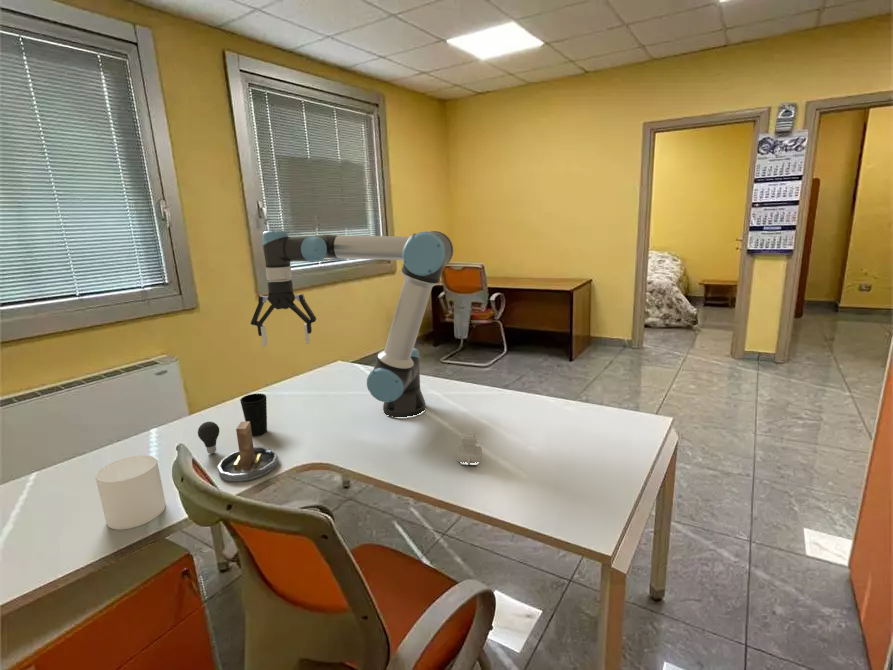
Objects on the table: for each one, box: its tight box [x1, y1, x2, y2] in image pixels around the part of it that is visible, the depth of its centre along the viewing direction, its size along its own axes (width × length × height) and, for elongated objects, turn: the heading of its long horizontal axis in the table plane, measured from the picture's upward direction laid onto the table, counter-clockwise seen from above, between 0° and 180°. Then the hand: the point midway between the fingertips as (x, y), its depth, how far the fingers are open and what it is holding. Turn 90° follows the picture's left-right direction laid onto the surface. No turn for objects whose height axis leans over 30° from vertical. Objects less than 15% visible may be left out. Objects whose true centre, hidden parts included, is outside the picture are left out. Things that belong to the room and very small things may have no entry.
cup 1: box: [95, 455, 166, 531], centre depth 106 cm, size 12×12×12 cm
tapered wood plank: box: [235, 421, 255, 469], centre depth 125 cm, size 2×4×12 cm, turn 8°
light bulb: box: [197, 421, 220, 455], centre depth 133 cm, size 6×6×10 cm
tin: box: [217, 446, 279, 483], centre depth 126 cm, size 15×15×3 cm
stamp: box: [456, 432, 483, 465], centre depth 126 cm, size 9×7×8 cm
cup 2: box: [239, 393, 268, 437], centre depth 145 cm, size 8×8×12 cm
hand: (286, 344), depth 150 cm, fingers open, 13 cm apart
